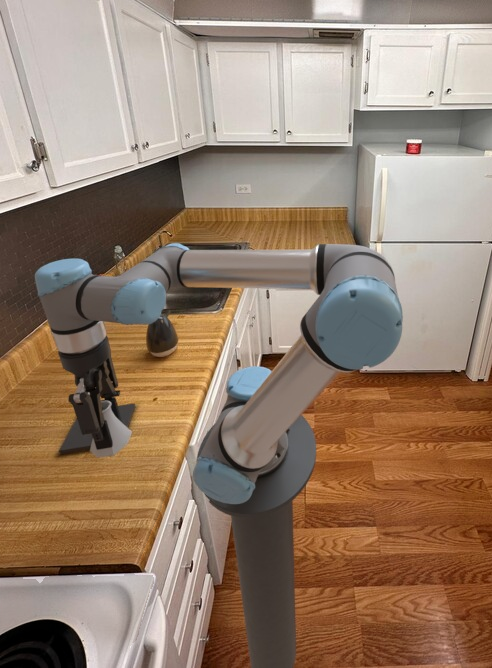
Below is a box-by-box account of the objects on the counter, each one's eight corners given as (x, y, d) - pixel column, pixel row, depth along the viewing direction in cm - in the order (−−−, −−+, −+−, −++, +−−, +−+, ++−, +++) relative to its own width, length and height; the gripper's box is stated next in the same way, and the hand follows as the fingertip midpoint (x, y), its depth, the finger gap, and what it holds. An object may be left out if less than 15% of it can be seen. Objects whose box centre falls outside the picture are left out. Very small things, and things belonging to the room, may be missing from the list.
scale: (137, 406, 96) (135, 398, 94) (123, 445, 84) (120, 437, 83) (81, 414, 93) (79, 406, 92) (59, 456, 81) (56, 447, 80)
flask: (115, 461, 65) (104, 424, 62) (82, 455, 66) (70, 419, 63) (138, 429, 72) (130, 394, 68) (109, 424, 73) (99, 390, 69)
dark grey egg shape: (186, 346, 120) (180, 311, 115) (163, 364, 112) (156, 327, 106) (165, 339, 124) (159, 304, 119) (142, 356, 115) (133, 319, 110)
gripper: (80, 317, 67) (105, 403, 76) (31, 381, 51) (69, 482, 60) (121, 313, 69) (140, 398, 77) (86, 374, 53) (115, 473, 61)
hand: (109, 434), depth 68 cm, fingers closed on flask, 5 cm apart
